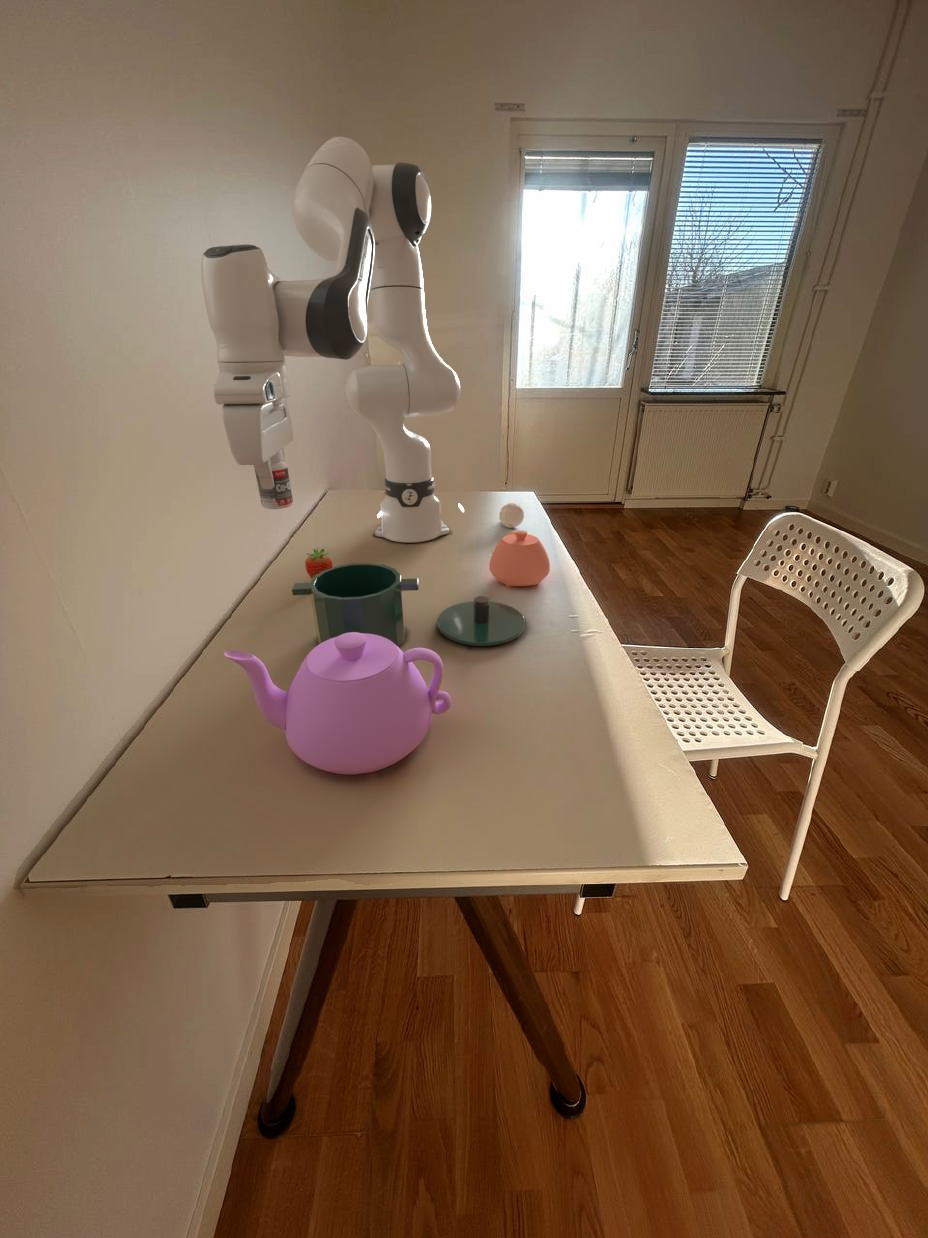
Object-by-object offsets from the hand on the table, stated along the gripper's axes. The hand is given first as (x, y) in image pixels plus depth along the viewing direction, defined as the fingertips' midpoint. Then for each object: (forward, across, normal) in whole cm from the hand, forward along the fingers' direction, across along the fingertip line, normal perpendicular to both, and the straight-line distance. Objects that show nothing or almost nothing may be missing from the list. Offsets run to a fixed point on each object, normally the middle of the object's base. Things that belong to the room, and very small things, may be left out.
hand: (274, 483), depth 79 cm
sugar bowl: (+25, -15, +42) cm, 51 cm away
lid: (+24, +5, +32) cm, 40 cm away
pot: (+24, +7, +12) cm, 28 cm away
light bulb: (+25, -51, +45) cm, 72 cm away
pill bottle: (+4, 0, 0) cm, 4 cm away
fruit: (+24, -15, +2) cm, 29 cm away
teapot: (+24, +31, +13) cm, 41 cm away
